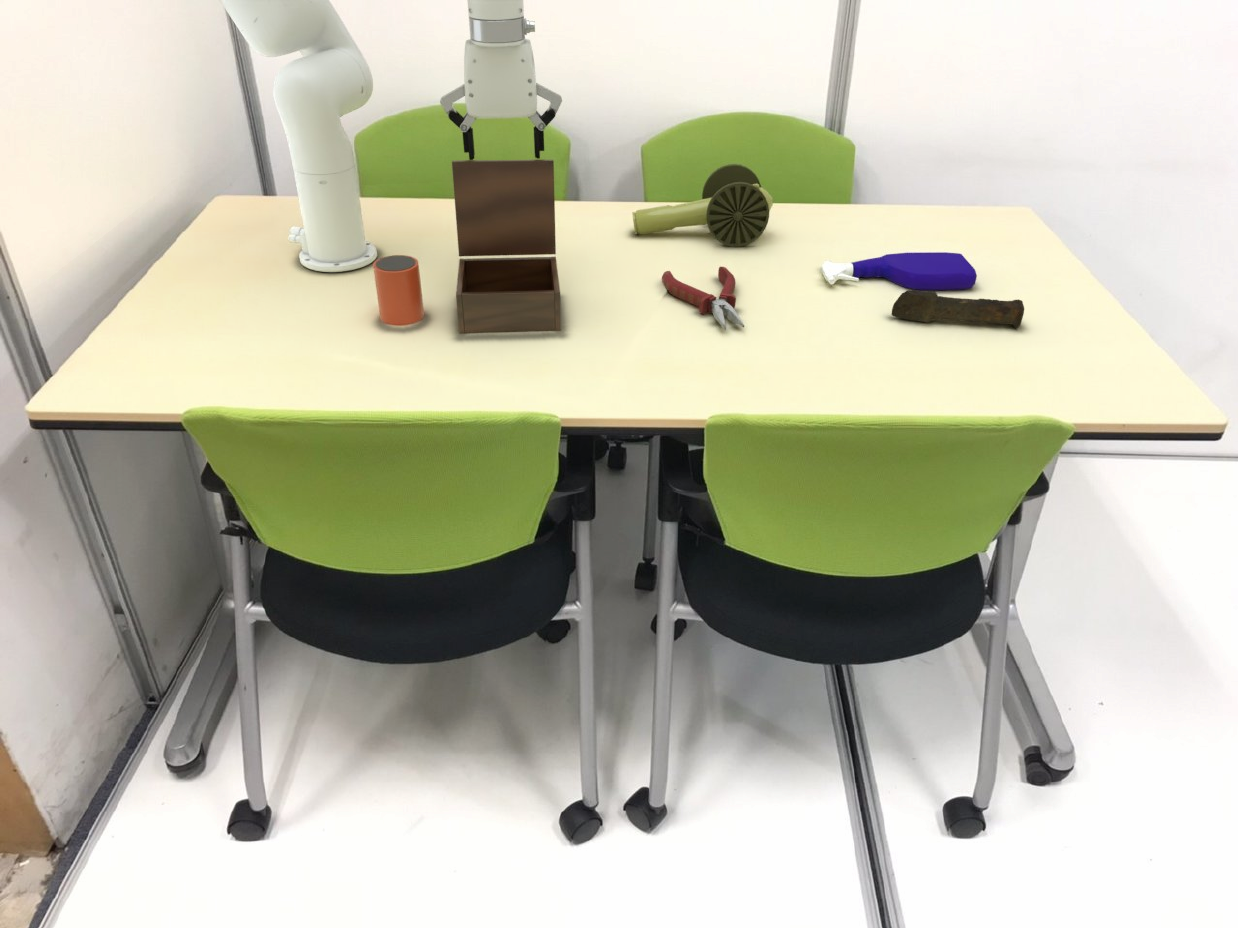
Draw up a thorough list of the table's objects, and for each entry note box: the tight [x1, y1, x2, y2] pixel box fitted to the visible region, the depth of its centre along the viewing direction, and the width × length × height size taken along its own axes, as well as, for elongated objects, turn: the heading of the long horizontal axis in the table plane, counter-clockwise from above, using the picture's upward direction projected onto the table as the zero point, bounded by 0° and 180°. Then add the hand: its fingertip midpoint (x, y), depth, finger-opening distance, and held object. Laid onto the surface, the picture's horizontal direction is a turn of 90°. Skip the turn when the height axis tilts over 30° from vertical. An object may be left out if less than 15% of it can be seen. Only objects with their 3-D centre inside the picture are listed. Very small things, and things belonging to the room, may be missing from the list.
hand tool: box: [890, 289, 1025, 329], centre depth 141 cm, size 19×4×5 cm, turn 82°
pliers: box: [661, 266, 745, 331], centre depth 144 cm, size 12×20×3 cm, turn 14°
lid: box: [451, 158, 557, 257], centre depth 139 cm, size 14×15×5 cm
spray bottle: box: [820, 251, 978, 291], centre depth 154 cm, size 3×11×24 cm
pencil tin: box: [372, 254, 425, 327], centre depth 136 cm, size 6×6×9 cm
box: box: [455, 256, 562, 335], centre depth 138 cm, size 13×15×7 cm
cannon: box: [632, 163, 774, 248], centre depth 166 cm, size 25×12×11 cm, turn 90°
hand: (504, 156), depth 137 cm, fingers open, 9 cm apart
